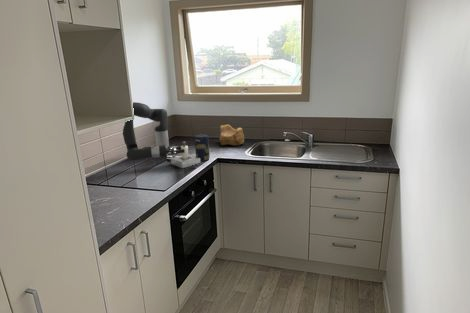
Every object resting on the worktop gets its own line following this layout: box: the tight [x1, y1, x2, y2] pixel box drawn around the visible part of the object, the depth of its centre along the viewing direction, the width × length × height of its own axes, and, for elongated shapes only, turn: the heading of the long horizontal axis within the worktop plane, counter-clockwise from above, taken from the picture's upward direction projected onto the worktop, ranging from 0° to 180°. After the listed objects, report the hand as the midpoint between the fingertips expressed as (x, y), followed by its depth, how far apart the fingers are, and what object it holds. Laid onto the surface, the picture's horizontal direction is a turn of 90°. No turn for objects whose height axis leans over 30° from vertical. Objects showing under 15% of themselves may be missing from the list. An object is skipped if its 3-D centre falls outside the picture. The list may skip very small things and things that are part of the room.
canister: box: [194, 133, 211, 161], centre depth 227 cm, size 10×10×18 cm
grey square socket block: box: [170, 153, 201, 169], centre depth 220 cm, size 14×14×4 cm
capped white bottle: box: [180, 141, 189, 160], centre depth 219 cm, size 4×4×15 cm
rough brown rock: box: [218, 124, 245, 147], centre depth 269 cm, size 23×17×15 cm
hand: (184, 149), depth 218 cm, fingers open, 8 cm apart
